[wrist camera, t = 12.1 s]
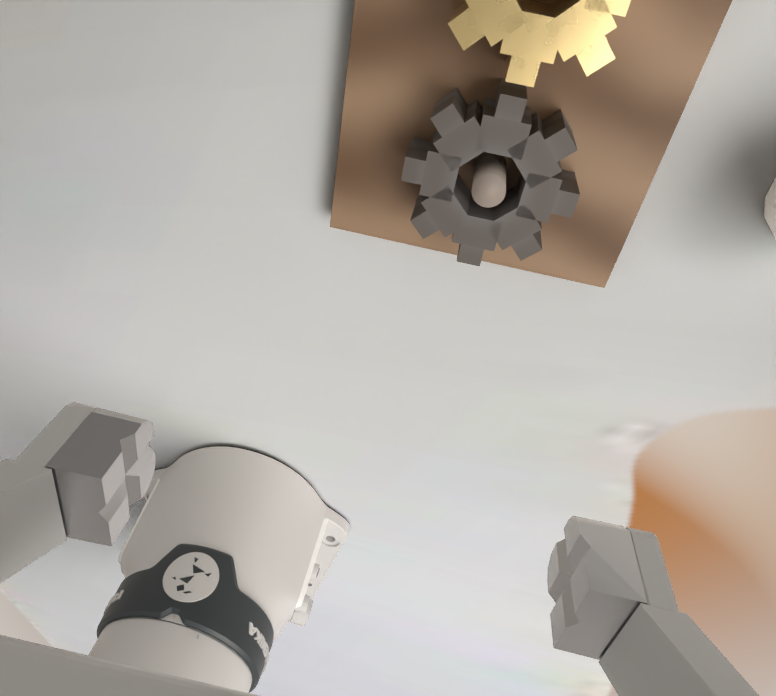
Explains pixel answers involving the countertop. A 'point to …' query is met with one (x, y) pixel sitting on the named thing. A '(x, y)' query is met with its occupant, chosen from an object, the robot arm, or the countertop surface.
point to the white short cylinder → (771, 208)
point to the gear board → (592, 102)
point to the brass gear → (540, 32)
